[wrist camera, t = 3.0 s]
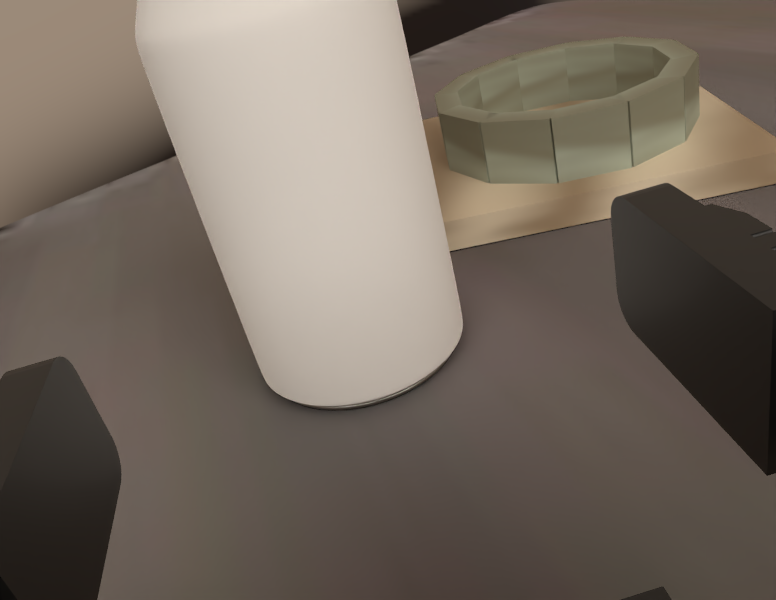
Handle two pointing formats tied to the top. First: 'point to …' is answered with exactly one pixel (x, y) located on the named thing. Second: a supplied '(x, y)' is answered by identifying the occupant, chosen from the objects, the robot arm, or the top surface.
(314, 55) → the can
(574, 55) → the can holder
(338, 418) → the top surface
